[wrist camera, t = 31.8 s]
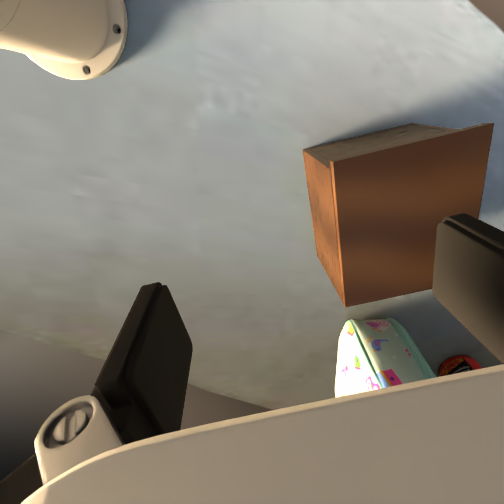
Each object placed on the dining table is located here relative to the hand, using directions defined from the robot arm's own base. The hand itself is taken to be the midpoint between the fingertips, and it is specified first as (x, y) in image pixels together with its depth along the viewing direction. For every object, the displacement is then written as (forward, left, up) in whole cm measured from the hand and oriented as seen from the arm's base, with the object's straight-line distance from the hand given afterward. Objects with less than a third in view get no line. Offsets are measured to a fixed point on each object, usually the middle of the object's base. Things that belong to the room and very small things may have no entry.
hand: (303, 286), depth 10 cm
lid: (+10, +14, -20) cm, 26 cm away
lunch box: (+44, +12, -32) cm, 56 cm away
